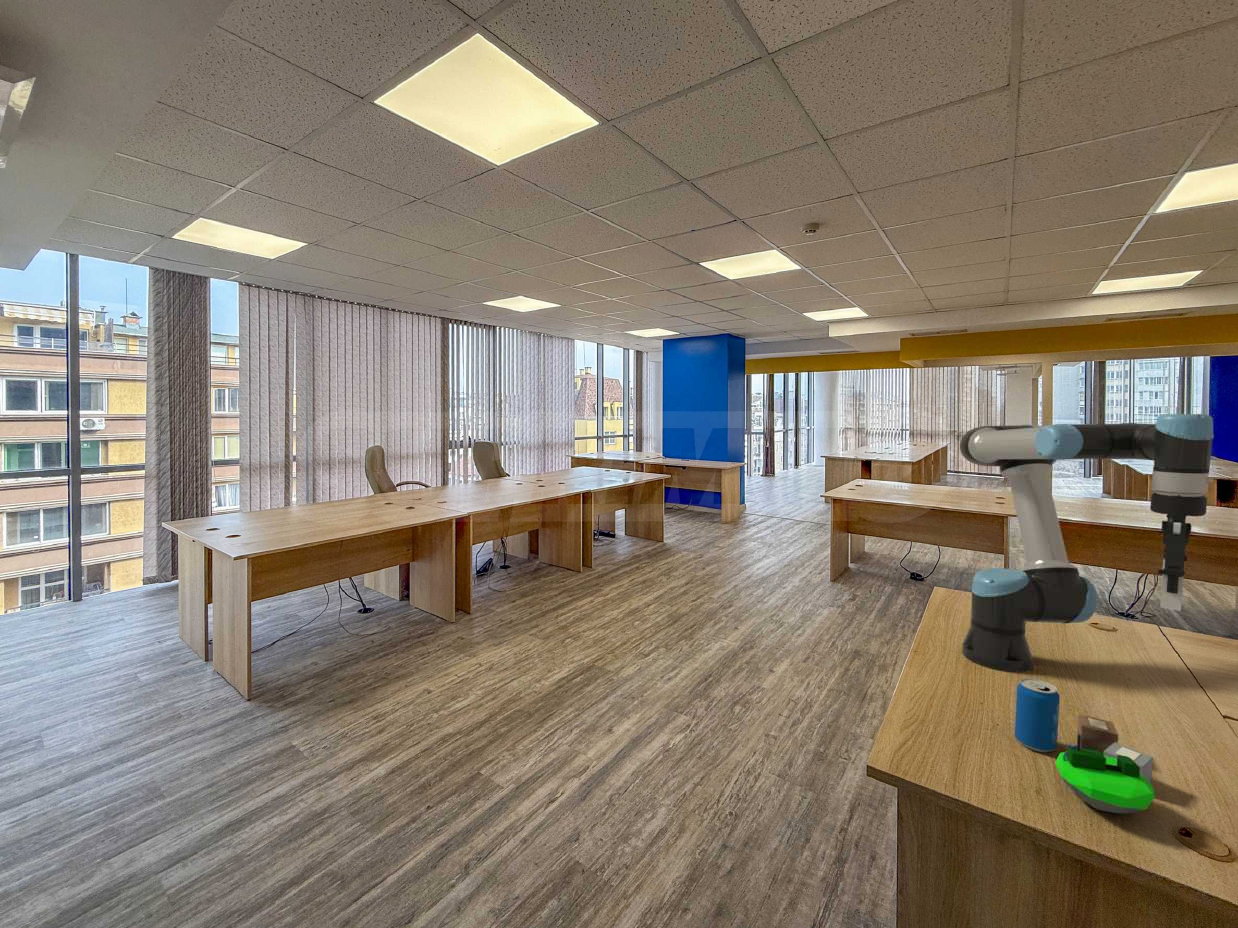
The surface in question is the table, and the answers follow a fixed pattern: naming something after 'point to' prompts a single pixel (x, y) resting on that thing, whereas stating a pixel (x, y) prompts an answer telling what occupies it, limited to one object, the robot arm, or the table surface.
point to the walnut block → (1096, 733)
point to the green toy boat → (1105, 780)
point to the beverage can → (1037, 715)
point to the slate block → (1138, 757)
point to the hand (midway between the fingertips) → (1170, 600)
